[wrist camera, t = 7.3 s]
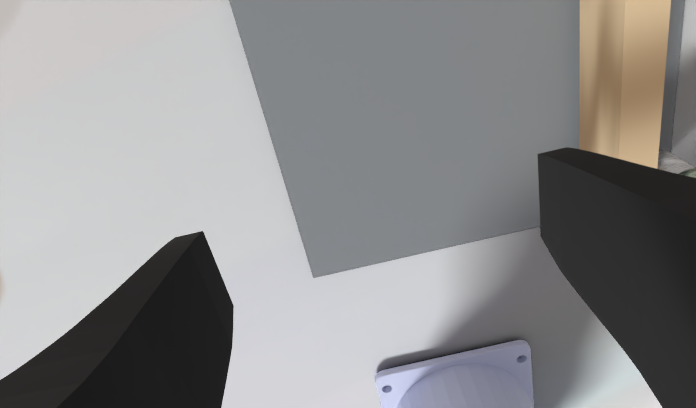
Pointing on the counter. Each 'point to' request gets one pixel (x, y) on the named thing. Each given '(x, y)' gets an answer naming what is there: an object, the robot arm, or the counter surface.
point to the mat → (418, 115)
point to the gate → (622, 77)
